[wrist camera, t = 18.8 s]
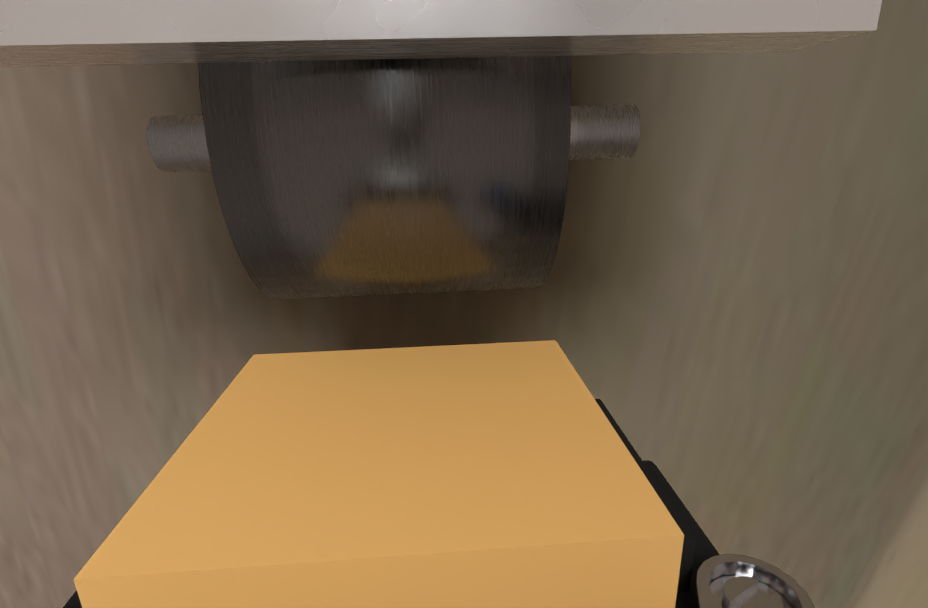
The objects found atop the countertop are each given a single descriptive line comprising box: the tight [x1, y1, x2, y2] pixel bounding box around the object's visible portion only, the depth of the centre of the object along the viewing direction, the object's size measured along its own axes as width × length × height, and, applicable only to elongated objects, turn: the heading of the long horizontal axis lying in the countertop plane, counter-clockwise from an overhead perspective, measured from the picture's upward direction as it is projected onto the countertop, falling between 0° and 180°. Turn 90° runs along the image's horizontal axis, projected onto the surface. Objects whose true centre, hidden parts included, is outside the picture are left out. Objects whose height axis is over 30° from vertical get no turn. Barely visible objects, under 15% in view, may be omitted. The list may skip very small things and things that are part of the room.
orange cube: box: [74, 340, 684, 608], centre depth 9 cm, size 6×5×6 cm
